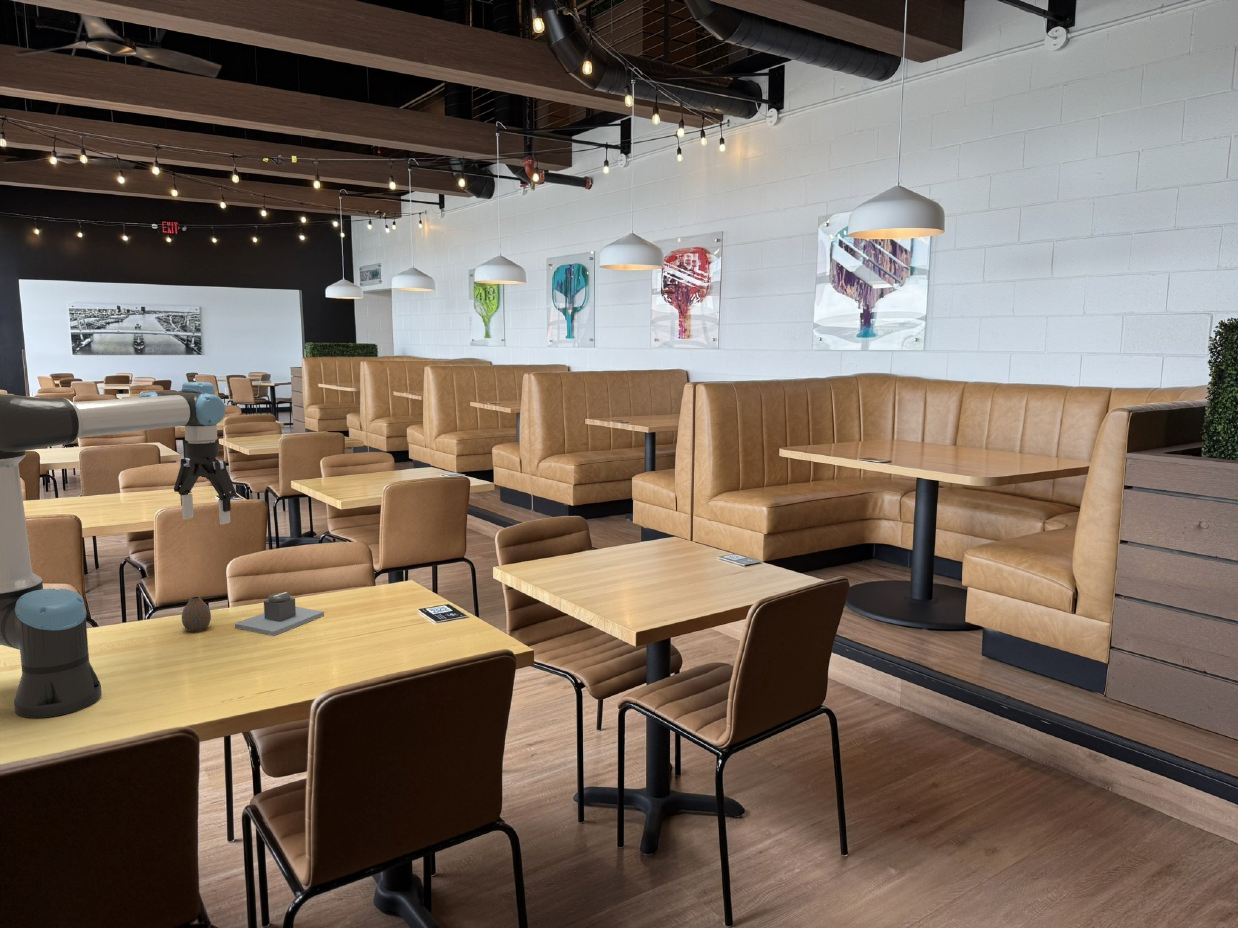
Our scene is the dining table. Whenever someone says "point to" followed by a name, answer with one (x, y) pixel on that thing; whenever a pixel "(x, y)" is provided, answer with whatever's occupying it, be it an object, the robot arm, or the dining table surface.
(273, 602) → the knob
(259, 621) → the gray rectangular base plate
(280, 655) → the dining table surface
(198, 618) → the vase
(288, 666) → the dining table surface
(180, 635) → the dining table surface
